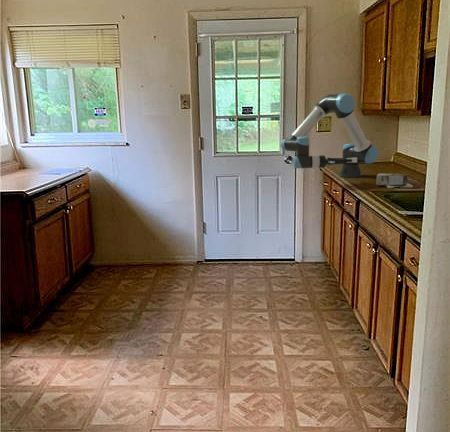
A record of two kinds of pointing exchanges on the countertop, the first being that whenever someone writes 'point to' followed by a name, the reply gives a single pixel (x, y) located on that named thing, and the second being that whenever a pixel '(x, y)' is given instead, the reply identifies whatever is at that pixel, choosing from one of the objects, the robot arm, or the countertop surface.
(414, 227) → the countertop surface
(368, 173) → the countertop surface
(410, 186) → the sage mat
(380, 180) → the coffee box
